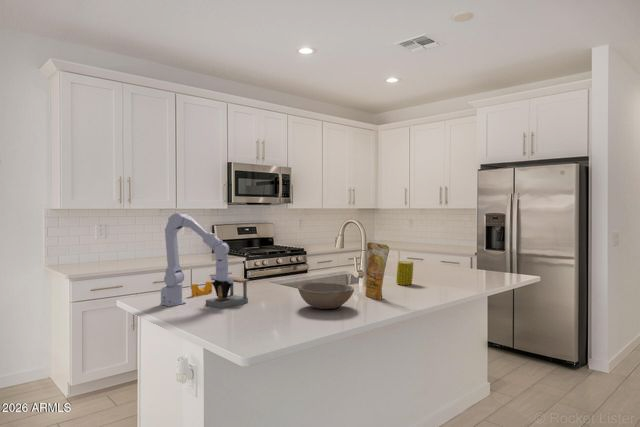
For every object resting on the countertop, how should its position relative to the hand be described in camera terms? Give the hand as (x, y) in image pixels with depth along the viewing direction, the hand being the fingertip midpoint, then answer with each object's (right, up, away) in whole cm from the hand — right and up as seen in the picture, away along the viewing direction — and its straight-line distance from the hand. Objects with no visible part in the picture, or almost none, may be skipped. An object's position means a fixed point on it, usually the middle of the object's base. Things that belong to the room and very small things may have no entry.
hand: (222, 296), depth 209 cm
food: (+98, -3, +55) cm, 113 cm away
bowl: (+50, -4, -6) cm, 50 cm away
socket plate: (+2, -4, +2) cm, 5 cm away
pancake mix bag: (+76, -4, +18) cm, 78 cm away
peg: (0, -3, 0) cm, 3 cm away
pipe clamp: (-17, -4, +26) cm, 31 cm away
